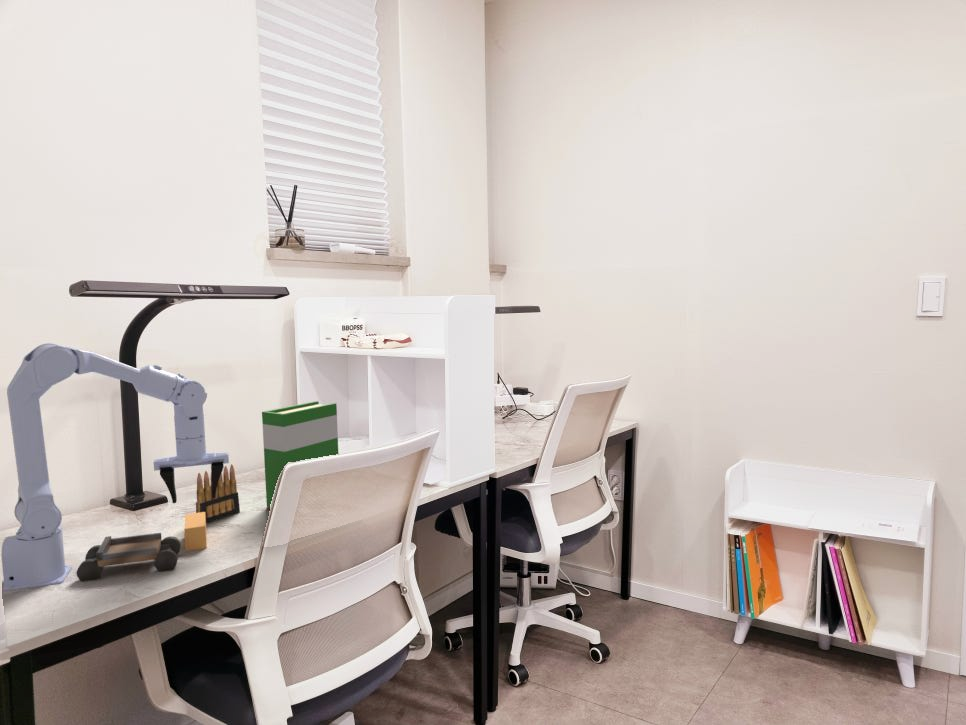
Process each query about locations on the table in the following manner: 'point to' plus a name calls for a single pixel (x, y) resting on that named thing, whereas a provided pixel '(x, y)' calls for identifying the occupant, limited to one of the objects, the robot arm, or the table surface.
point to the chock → (195, 531)
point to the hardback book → (297, 437)
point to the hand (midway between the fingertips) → (194, 499)
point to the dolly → (130, 554)
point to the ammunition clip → (218, 496)
